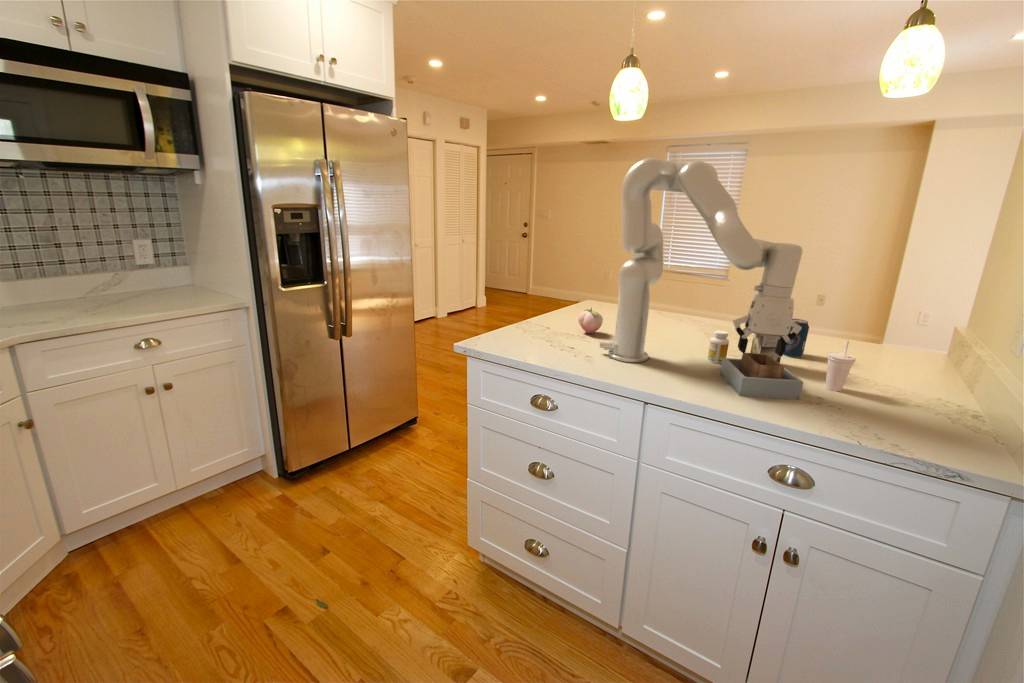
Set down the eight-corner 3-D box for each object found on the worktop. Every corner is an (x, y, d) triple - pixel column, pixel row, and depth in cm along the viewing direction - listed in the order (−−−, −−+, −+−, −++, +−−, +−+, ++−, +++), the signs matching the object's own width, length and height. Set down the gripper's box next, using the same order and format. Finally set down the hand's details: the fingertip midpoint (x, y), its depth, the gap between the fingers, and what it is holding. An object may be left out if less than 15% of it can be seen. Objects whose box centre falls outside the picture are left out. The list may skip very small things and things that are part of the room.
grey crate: (739, 395, 121) (742, 377, 119) (720, 373, 136) (722, 357, 134) (799, 399, 119) (803, 381, 118) (773, 377, 134) (776, 361, 133)
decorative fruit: (606, 335, 172) (608, 309, 169) (589, 337, 168) (591, 311, 165) (590, 329, 180) (592, 304, 177) (573, 331, 176) (575, 306, 173)
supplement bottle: (725, 360, 148) (730, 331, 146) (725, 365, 144) (730, 335, 141) (707, 357, 151) (712, 328, 148) (706, 362, 146) (711, 332, 143)
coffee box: (779, 371, 140) (790, 319, 135) (756, 369, 141) (766, 318, 136) (769, 361, 148) (779, 312, 144) (748, 359, 150) (757, 311, 145)
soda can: (775, 353, 156) (782, 319, 153) (784, 350, 160) (791, 317, 157) (797, 359, 151) (805, 324, 148) (805, 355, 155) (813, 321, 152)
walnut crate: (753, 390, 122) (758, 365, 120) (738, 375, 133) (742, 352, 131) (778, 391, 122) (784, 367, 120) (762, 376, 132) (766, 353, 130)
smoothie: (848, 395, 123) (861, 345, 119) (819, 389, 126) (831, 341, 122) (846, 387, 128) (859, 339, 124) (819, 382, 132) (830, 335, 128)
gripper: (746, 291, 117) (731, 354, 123) (817, 297, 116) (799, 360, 121) (736, 286, 124) (722, 345, 130) (802, 291, 123) (786, 351, 128)
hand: (759, 352), depth 125 cm, fingers open, 9 cm apart
